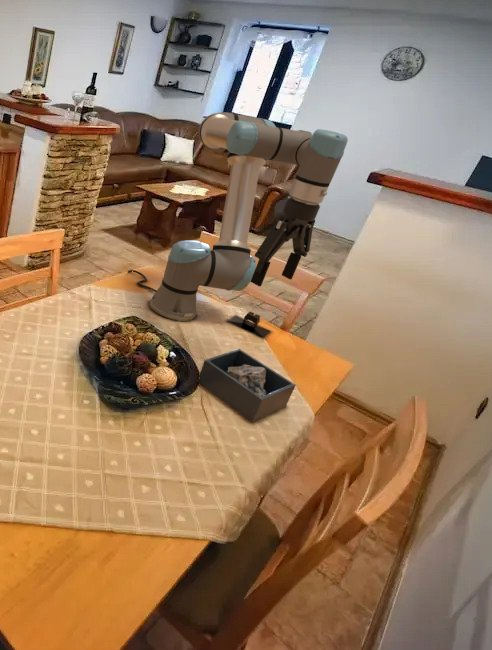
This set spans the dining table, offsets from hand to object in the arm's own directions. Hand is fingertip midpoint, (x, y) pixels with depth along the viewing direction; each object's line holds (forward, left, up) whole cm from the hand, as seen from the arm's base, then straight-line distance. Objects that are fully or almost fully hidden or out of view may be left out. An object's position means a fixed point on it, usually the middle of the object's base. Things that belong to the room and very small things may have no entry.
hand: (271, 280), depth 128 cm
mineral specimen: (+9, -10, -26) cm, 29 cm away
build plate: (-14, +25, -27) cm, 40 cm away
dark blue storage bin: (+9, -10, -27) cm, 30 cm away
